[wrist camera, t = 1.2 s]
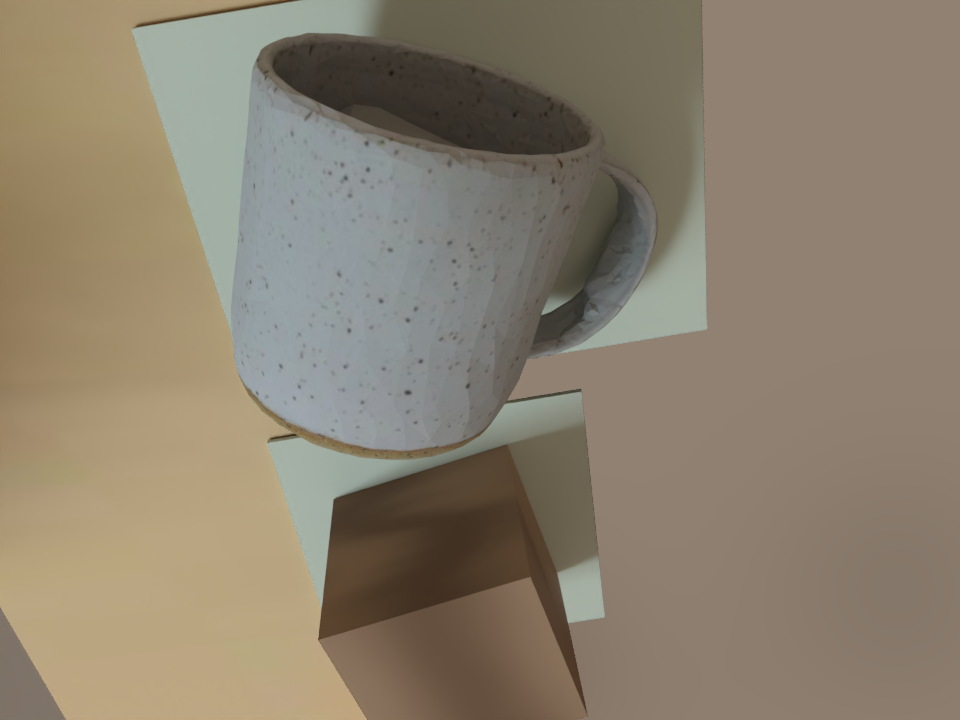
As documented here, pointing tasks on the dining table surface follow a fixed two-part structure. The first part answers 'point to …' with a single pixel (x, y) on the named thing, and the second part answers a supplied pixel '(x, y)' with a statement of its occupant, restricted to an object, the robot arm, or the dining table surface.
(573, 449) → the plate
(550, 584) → the walnut block
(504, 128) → the ceramic mug
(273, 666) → the dining table surface
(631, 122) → the plate
